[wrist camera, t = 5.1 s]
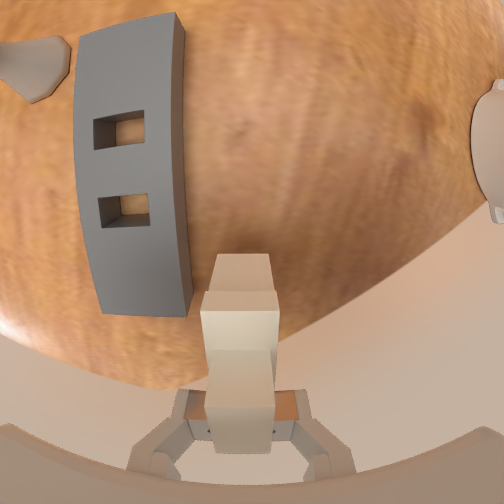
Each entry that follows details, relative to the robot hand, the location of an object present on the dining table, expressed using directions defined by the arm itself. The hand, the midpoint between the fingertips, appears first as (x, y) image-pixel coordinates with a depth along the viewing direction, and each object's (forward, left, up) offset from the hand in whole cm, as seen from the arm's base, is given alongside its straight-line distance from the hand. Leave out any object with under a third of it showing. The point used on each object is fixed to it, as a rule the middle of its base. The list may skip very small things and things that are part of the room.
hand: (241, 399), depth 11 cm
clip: (0, 0, -8) cm, 8 cm away
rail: (+9, -9, -15) cm, 19 cm away
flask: (+20, -21, -15) cm, 32 cm away
